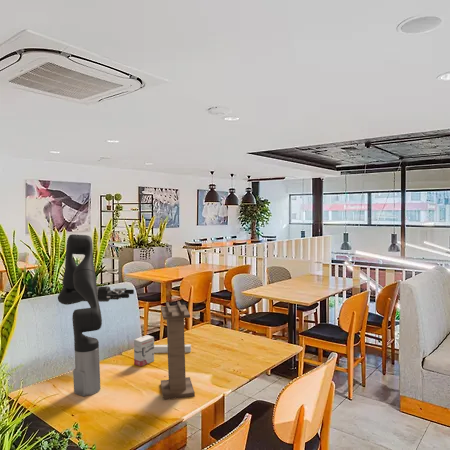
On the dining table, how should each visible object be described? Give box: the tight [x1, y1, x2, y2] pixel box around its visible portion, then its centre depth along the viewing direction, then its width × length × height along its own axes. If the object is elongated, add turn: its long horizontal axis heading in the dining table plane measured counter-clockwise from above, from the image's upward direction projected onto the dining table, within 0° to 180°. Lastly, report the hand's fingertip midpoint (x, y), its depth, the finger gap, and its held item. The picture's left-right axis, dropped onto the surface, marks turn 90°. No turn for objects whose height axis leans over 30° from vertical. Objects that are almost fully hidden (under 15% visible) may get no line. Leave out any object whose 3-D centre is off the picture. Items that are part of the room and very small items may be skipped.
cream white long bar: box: [154, 343, 192, 354], centre depth 198 cm, size 24×3×3 cm, turn 89°
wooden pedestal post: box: [160, 300, 196, 401], centre depth 155 cm, size 16×12×34 cm
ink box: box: [133, 334, 155, 367], centre depth 184 cm, size 9×5×12 cm, turn 143°
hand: (131, 293), depth 197 cm, fingers open, 8 cm apart
